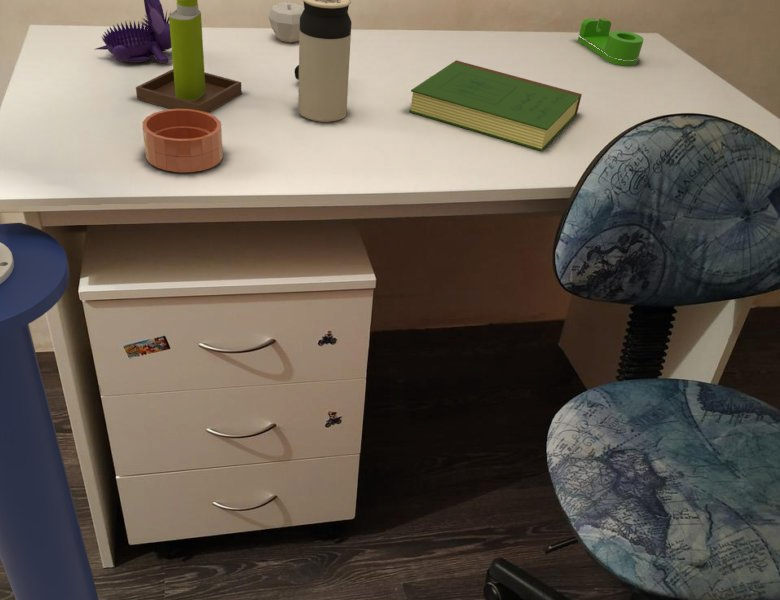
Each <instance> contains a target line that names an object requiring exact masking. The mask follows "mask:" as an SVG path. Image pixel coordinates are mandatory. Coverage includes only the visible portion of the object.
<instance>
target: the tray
mask: <svg viewBox="0 0 780 600" xmlns="http://www.w3.org/2000/svg"><path fill="white" fill-rule="evenodd" d="M204 72H205V71H204ZM205 89H206V92H205V93H204V94H203V95H202V96H201V97H200V98H198V99H197V100H195V101H188V100H185V99H181V98H178V97H176V95H175V84H174V72H173V68H172V69H170V70H168V71H166V72H164V73H161V74H160V75H158V76H156V77H154V78H152V79H150V80H148V81H146V82H144V83H141V84H139V85H137V86H136V87H135V93H136V100H138V101H141V102H144V103H145V102H146V103H149V104H152V105H155V106H159V107H162V108H166V109H168V110H169V109H193V110H199V111H203V112H206V113H209V114H210V113H211V112H212V111H215V110H217V109H218V108H220V107H221V106H223V105H225V104H227V103H229V102H230V101H232V100H233V99H235V98H237V97H238V96H241V95H242V93H243V92H242V90H243V89H242V81H239V80H235V79H231V78H227V77H224V76H220V75H216V74H213V73H209V72H205Z"/></svg>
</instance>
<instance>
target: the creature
mask: <svg viewBox="0 0 780 600" xmlns="http://www.w3.org/2000/svg"><path fill="white" fill-rule="evenodd" d="M143 4H144V11H145V13H144V15H143V16H144V17H145V18H141V20H142V21H141V22H140V20H138V21H137V24H136V21H135V20H133V25H132V22H131V21H129V25H128V23H127V20H125V21H124V24H125V25H124V24H123V22H122V21H120V25H121V27H120V25H119V23H116V26H115V25H114V24H112V28H111V26H109V29H108V28H106V30H105V31H104V33H103V34H102V36H101V37H100V38H101V40H102V42H103V43H104V44H105V45H101V46H100V47H96V48H95V50H101V51H103V50H106V51H108V52H109V53H110V55H112V56H113V57H114V58H115V60H117V61H118V62H127V63H128V62H129V63H141V62H146V61H149V60H151V59H152V57H154V58H155V60H156V61H157V62H158V63H161V64H165V63H168V62H169V61H172V58H170V55H167V54H164V53H163V52H166V51H167V50H170V49H172V48H171V36H170V24H169V16H168V10H166V12H165V13H164V8H163V5H162V3H161V1H160V0H143ZM171 13H172V11H170V12H169V14H171ZM116 27H117V28H116Z"/></svg>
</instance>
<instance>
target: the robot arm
mask: <svg viewBox="0 0 780 600" xmlns="http://www.w3.org/2000/svg"><path fill="white" fill-rule="evenodd" d="M13 268H14V260H13V256H12V253H11V251H10V250H9V248H8V247H6V246H5V245H4V244H2V243H0V284H2V283H3V282H4V281H5V280H6V279H7V278H8V277H9V276H10V274H11V273H12V271H13Z"/></svg>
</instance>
